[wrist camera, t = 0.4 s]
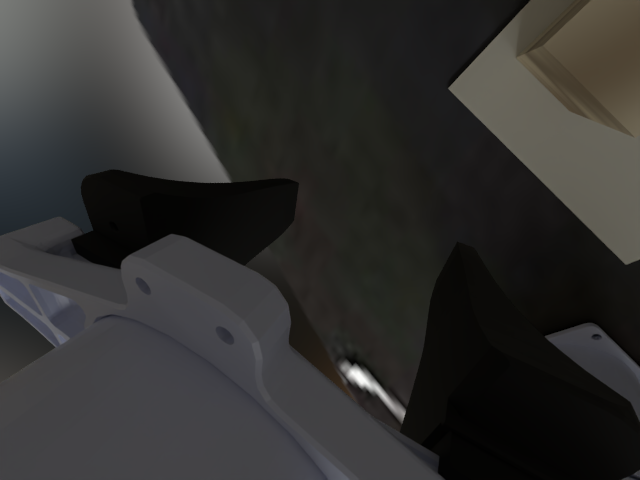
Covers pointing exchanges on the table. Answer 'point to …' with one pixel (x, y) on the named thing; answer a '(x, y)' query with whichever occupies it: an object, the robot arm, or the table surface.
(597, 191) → the felt mat
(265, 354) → the robot arm
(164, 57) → the table surface
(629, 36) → the birch block
